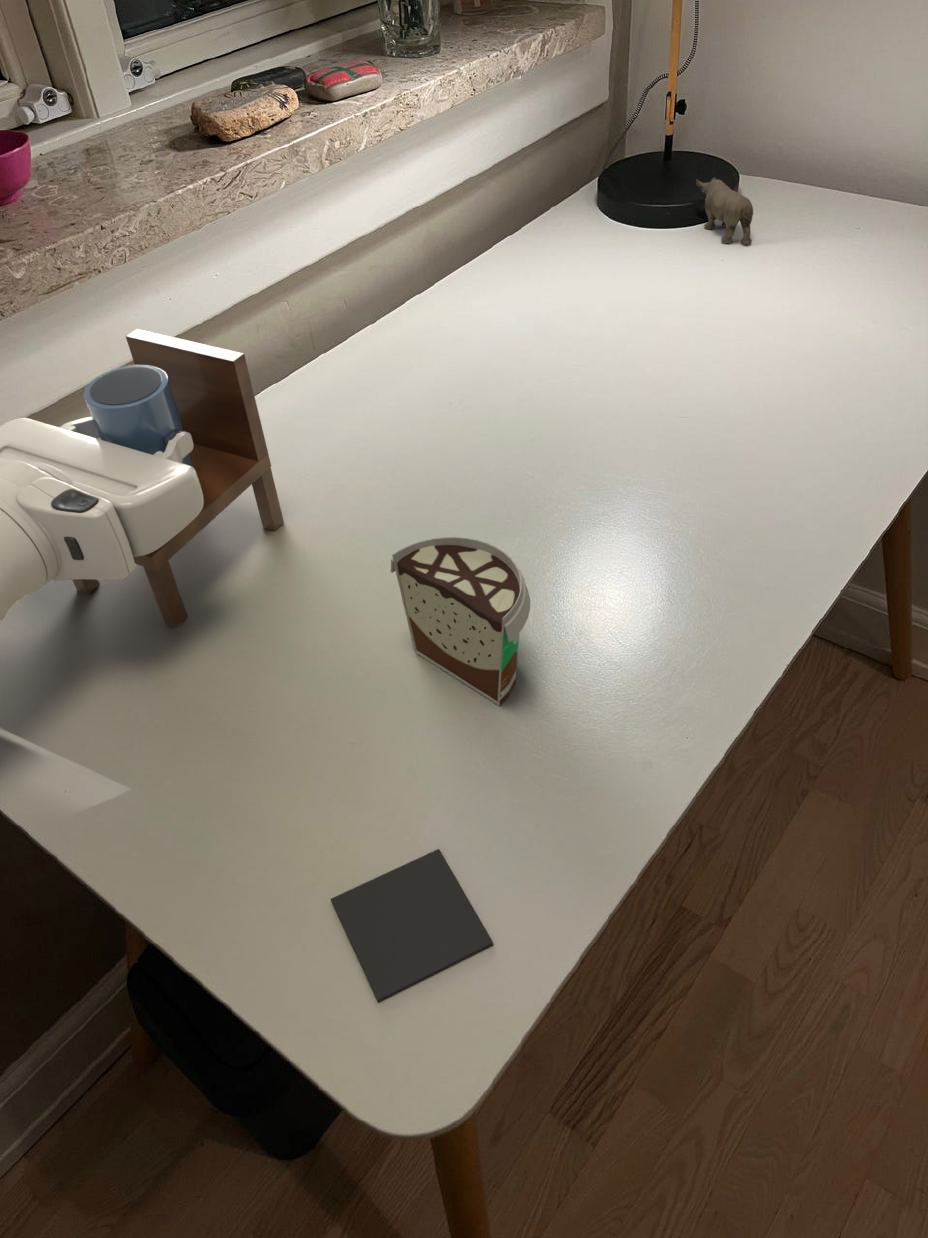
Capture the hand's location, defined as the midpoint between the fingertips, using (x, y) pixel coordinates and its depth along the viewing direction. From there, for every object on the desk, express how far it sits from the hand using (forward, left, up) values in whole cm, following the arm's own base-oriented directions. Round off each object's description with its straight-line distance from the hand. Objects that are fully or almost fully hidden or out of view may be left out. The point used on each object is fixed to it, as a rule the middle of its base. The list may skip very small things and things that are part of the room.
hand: (149, 427), depth 87 cm
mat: (+2, -46, -14) cm, 47 cm away
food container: (+17, -27, -14) cm, 34 cm away
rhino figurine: (+82, +29, -14) cm, 88 cm away
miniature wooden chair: (-1, -1, -14) cm, 14 cm away
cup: (-1, -1, -6) cm, 6 cm away
